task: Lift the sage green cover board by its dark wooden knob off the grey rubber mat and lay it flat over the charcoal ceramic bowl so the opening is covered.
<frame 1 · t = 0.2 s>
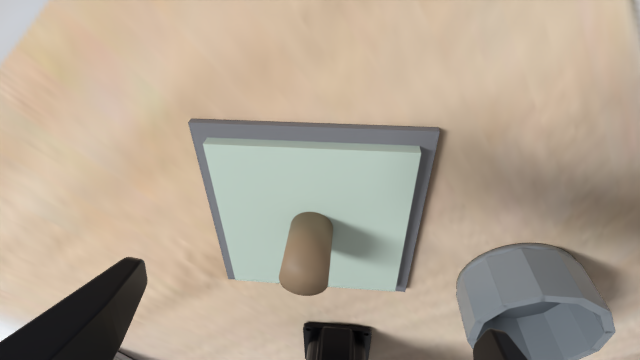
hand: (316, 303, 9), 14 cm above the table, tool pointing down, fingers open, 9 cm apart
cover board: (313, 219, 26), resting on rubber mat
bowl: (515, 282, 28), on the table
coffee box: (100, 358, 44), on the table
rubber mat: (313, 215, 26), on the table
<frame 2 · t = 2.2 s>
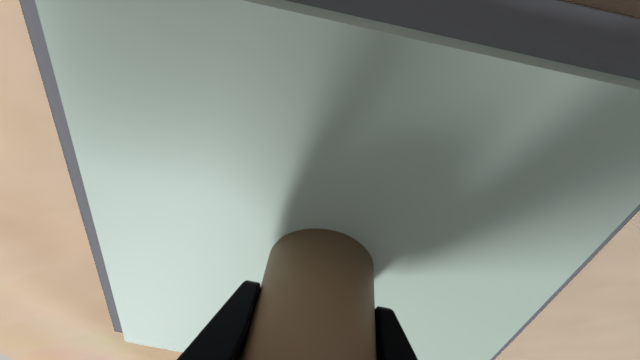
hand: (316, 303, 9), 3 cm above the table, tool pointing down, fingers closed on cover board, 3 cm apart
cover board: (322, 246, 11), resting on rubber mat, touching gripper
rubber mat: (324, 234, 11), on the table
when the fingers open (8 cm above the table, at t = 6.0 s): cover board drops 1 cm, resting on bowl.
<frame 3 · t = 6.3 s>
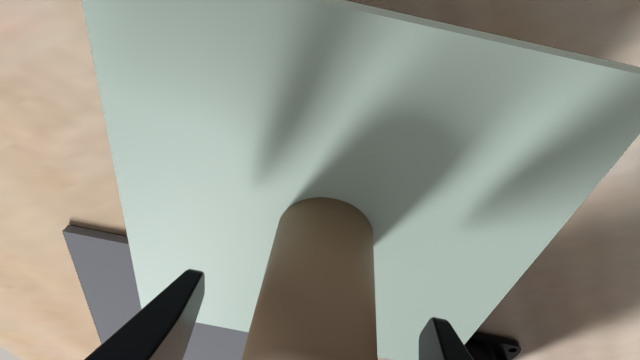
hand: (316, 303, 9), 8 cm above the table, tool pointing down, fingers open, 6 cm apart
cover board: (326, 217, 12), point 4 cm above the table, touching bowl
rubber mat: (201, 323, 25), on the table
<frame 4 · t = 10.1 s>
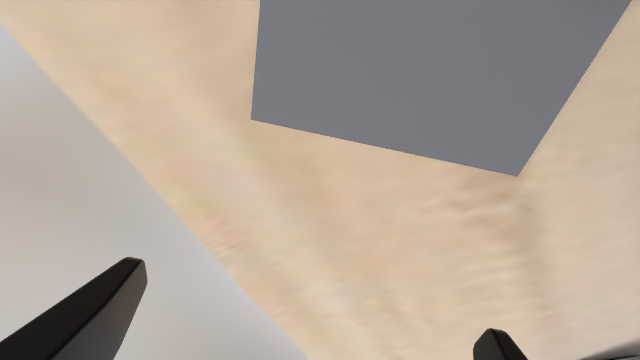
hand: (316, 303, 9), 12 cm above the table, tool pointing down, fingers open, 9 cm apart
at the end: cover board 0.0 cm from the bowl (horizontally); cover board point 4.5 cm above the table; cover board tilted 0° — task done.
